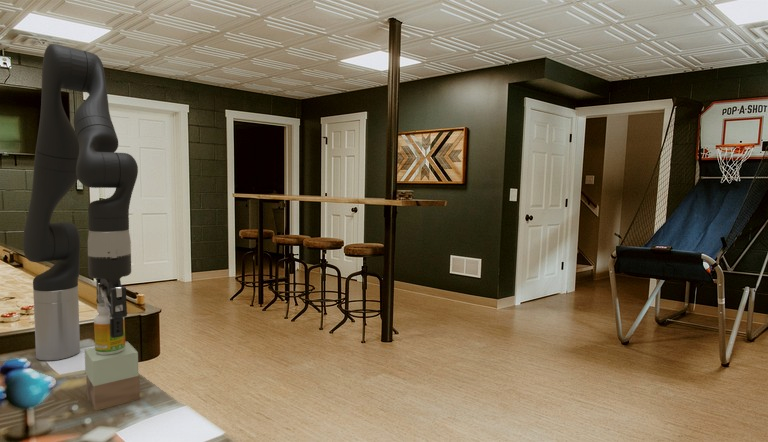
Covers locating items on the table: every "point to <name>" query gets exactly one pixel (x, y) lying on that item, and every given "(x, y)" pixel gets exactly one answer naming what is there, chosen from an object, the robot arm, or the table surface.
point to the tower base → (113, 392)
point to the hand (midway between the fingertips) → (111, 331)
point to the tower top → (111, 365)
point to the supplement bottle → (106, 333)
